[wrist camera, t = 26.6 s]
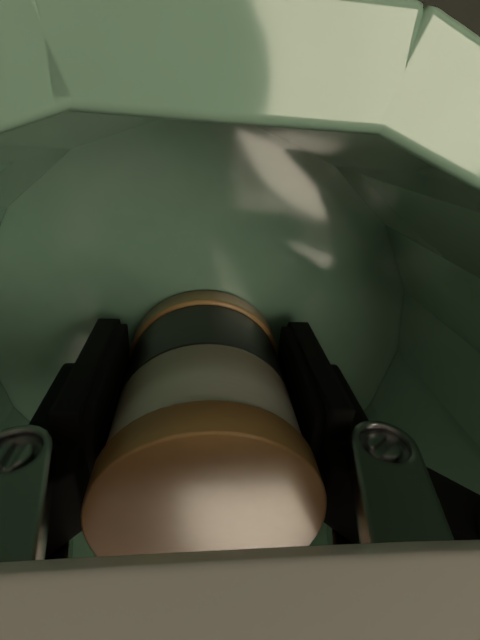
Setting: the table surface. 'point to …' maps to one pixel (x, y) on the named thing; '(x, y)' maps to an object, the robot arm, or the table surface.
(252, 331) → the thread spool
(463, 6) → the table surface
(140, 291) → the pot
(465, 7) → the table surface
